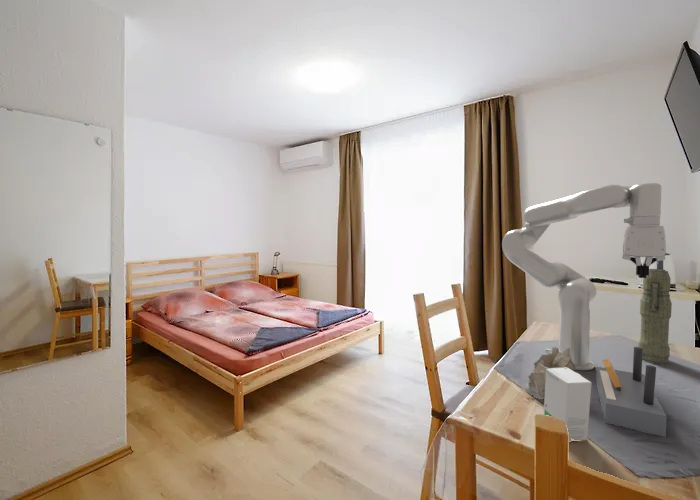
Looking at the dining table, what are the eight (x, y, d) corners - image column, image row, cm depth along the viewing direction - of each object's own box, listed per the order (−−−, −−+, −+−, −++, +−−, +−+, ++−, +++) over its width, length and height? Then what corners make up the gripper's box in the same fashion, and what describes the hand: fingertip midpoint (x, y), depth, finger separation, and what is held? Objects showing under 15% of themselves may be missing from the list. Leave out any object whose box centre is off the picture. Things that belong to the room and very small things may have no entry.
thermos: (667, 357, 129) (671, 268, 126) (670, 367, 120) (675, 272, 117) (637, 352, 135) (640, 267, 132) (638, 361, 126) (641, 270, 123)
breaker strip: (605, 422, 89) (605, 402, 88) (596, 382, 110) (596, 366, 110) (665, 437, 82) (666, 415, 82) (643, 391, 104) (644, 374, 103)
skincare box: (542, 423, 89) (543, 367, 88) (565, 421, 89) (566, 366, 88) (565, 444, 81) (566, 382, 79) (590, 441, 81) (592, 380, 80)
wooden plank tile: (616, 391, 94) (604, 367, 96) (613, 381, 100) (602, 359, 101) (623, 390, 94) (611, 366, 95) (620, 380, 99) (608, 358, 100)
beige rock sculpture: (556, 375, 116) (555, 334, 114) (589, 402, 99) (588, 355, 98) (511, 379, 116) (509, 338, 114) (536, 406, 100) (535, 359, 98)
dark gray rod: (643, 403, 87) (646, 367, 86) (642, 400, 89) (645, 364, 88) (653, 405, 86) (656, 369, 85) (652, 402, 88) (655, 366, 87)
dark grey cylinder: (633, 380, 100) (634, 348, 99) (632, 377, 102) (633, 346, 101) (641, 382, 99) (643, 349, 98) (640, 379, 101) (641, 347, 100)
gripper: (616, 222, 108) (614, 277, 110) (679, 221, 100) (676, 280, 102) (613, 222, 115) (611, 274, 116) (672, 221, 107) (669, 277, 108)
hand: (642, 277), depth 109 cm, fingers closed
